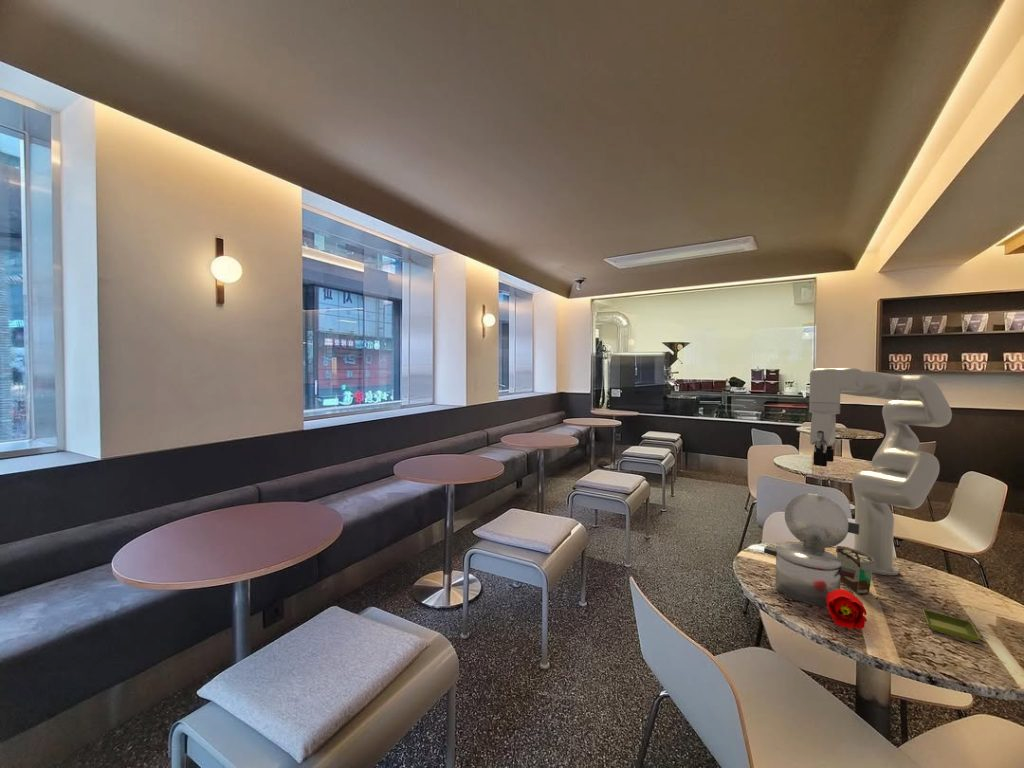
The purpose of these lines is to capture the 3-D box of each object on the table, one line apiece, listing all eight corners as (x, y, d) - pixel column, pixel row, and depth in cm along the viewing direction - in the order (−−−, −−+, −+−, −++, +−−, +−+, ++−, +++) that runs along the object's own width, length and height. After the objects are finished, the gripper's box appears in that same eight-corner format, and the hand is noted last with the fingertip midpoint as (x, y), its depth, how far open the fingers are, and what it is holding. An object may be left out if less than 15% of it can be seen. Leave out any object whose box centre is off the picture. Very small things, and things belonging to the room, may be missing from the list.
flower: (868, 600, 102) (875, 614, 96) (851, 623, 104) (856, 638, 97) (833, 579, 106) (837, 590, 100) (817, 601, 108) (820, 614, 101)
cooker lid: (782, 541, 127) (785, 540, 129) (856, 561, 114) (858, 559, 116) (786, 489, 128) (788, 488, 130) (859, 502, 115) (861, 501, 117)
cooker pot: (772, 570, 129) (773, 536, 129) (857, 597, 113) (858, 558, 113) (756, 586, 118) (757, 549, 118) (849, 618, 103) (850, 576, 103)
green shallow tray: (921, 616, 105) (921, 608, 105) (971, 629, 100) (971, 621, 100) (927, 631, 99) (927, 623, 99) (980, 647, 93) (981, 638, 93)
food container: (886, 600, 112) (887, 565, 112) (860, 597, 113) (861, 562, 113) (857, 579, 124) (858, 547, 124) (835, 577, 125) (836, 545, 125)
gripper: (815, 406, 133) (815, 457, 133) (802, 409, 121) (802, 465, 121) (845, 407, 127) (844, 461, 127) (834, 410, 115) (833, 469, 116)
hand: (823, 463), depth 124 cm, fingers open, 9 cm apart
